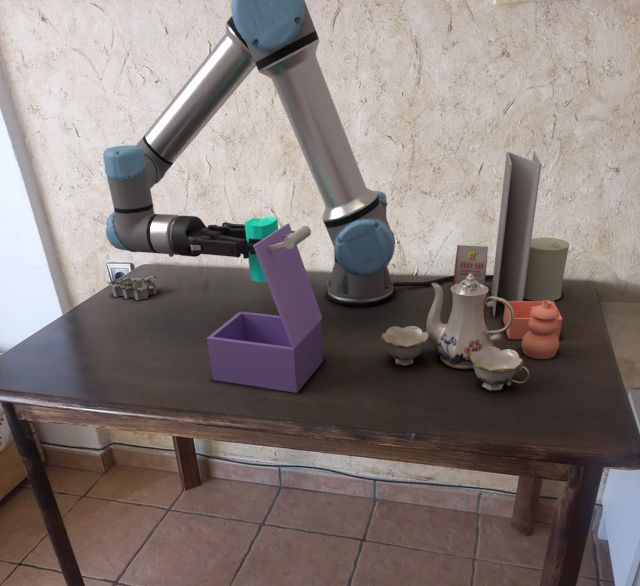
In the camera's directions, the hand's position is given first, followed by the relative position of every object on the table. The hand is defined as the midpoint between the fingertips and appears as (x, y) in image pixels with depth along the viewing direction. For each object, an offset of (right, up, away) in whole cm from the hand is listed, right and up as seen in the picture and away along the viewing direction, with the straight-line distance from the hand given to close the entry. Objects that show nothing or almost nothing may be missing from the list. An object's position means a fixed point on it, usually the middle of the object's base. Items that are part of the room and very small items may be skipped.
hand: (289, 243), depth 112 cm
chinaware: (+30, -22, 0) cm, 38 cm away
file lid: (0, -10, -9) cm, 14 cm away
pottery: (+47, -17, +8) cm, 51 cm away
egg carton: (-40, -1, +39) cm, 56 cm away
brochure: (+46, -7, +23) cm, 52 cm away
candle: (-5, -5, +5) cm, 9 cm away
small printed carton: (+41, -1, +32) cm, 52 cm away
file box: (-4, -23, +2) cm, 23 cm away
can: (+55, -4, +27) cm, 62 cm away
